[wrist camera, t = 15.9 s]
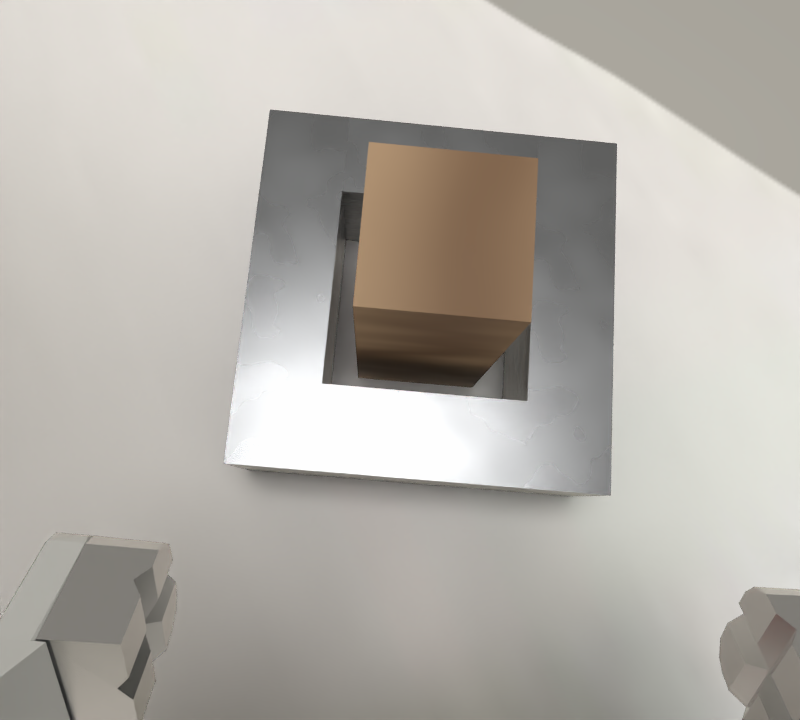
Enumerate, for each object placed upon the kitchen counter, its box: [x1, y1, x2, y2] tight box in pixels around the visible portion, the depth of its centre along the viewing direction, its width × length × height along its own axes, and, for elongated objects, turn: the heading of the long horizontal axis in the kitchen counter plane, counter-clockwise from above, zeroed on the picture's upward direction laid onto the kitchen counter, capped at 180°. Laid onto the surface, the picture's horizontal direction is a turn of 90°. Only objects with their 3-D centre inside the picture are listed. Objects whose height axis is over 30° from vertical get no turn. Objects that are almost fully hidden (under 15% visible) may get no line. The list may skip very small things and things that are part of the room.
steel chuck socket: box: [224, 110, 617, 496], centre depth 23 cm, size 11×11×4 cm
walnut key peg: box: [353, 142, 538, 387], centre depth 20 cm, size 4×4×9 cm
